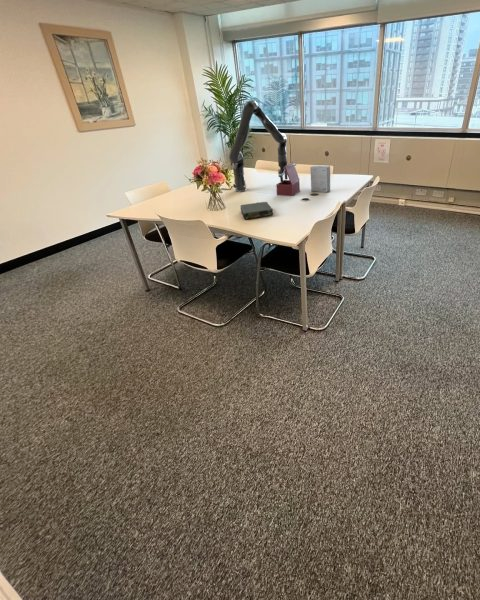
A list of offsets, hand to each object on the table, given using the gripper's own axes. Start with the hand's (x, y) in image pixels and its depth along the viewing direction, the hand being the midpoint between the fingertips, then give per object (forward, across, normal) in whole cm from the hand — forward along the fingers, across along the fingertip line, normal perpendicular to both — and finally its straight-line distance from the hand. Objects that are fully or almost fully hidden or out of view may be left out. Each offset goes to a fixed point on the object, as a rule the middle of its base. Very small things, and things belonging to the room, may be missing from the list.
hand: (284, 180), depth 271 cm
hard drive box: (+10, -13, +29) cm, 33 cm away
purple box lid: (-6, 0, +8) cm, 10 cm away
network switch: (+10, +55, +4) cm, 57 cm away
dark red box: (+10, 0, +4) cm, 11 cm away
